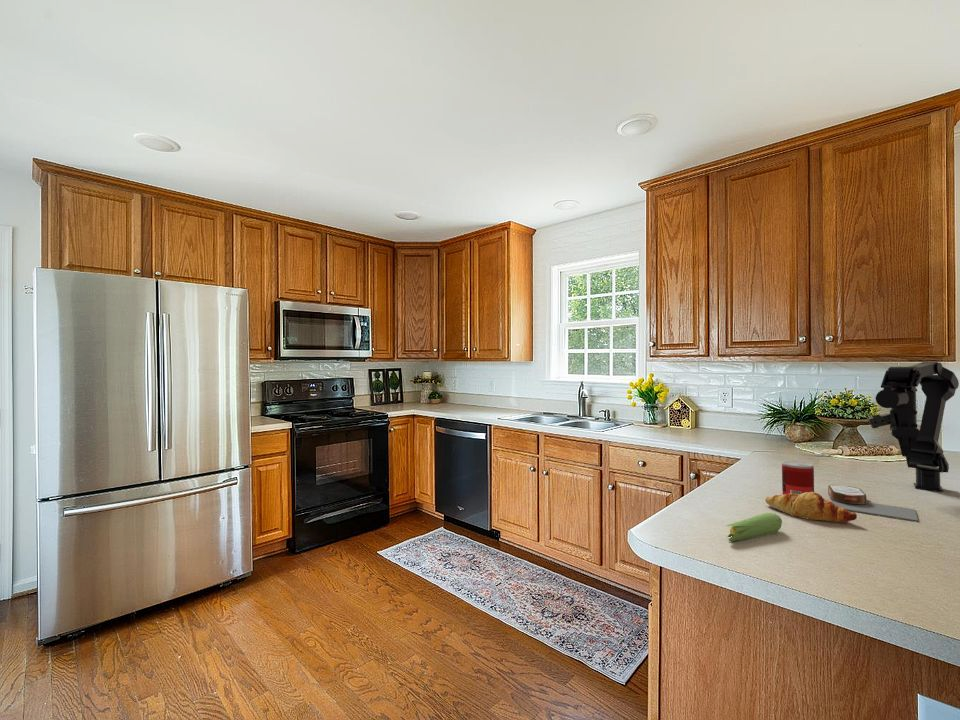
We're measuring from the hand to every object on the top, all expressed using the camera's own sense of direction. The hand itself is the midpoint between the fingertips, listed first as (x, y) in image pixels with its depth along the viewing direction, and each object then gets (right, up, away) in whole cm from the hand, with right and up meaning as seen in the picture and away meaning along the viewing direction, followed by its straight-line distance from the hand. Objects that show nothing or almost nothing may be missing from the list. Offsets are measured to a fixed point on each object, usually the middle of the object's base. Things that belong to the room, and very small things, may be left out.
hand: (904, 456), depth 140 cm
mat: (-22, -12, -13) cm, 28 cm away
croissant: (-43, -13, -17) cm, 47 cm away
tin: (-18, -10, -6) cm, 21 cm away
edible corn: (-67, -13, -31) cm, 75 cm away
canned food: (-36, -13, -3) cm, 38 cm away
